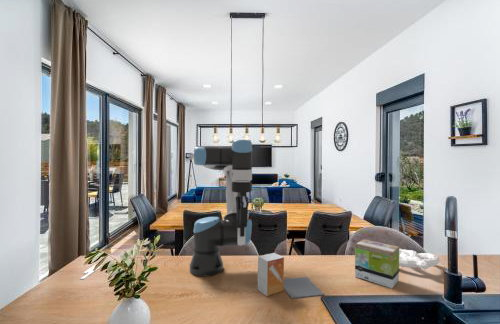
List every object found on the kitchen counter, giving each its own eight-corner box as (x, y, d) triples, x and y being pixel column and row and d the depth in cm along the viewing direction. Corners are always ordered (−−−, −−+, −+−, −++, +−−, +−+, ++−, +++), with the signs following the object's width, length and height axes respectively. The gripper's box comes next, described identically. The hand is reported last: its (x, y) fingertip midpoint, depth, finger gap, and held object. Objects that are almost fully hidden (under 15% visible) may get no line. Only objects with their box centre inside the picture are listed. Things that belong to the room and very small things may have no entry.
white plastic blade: (71, 280, 108) (71, 277, 108) (93, 266, 123) (93, 263, 123) (84, 280, 108) (84, 277, 108) (103, 266, 123) (103, 263, 123)
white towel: (364, 263, 131) (363, 250, 132) (390, 256, 143) (389, 244, 144) (424, 276, 107) (422, 260, 108) (450, 267, 120) (448, 252, 121)
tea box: (354, 277, 111) (354, 243, 111) (362, 270, 119) (362, 238, 119) (393, 289, 101) (393, 251, 101) (399, 281, 108) (399, 245, 109)
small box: (267, 296, 95) (267, 261, 95) (257, 289, 100) (257, 256, 100) (284, 291, 99) (284, 257, 99) (273, 284, 104) (273, 252, 105)
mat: (277, 280, 108) (277, 279, 108) (306, 277, 111) (306, 276, 111) (291, 298, 93) (291, 297, 93) (324, 295, 96) (324, 293, 96)
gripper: (229, 180, 103) (229, 240, 102) (234, 182, 90) (234, 250, 90) (247, 180, 104) (247, 239, 104) (255, 182, 92) (255, 249, 91)
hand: (241, 244), depth 97 cm, fingers closed
